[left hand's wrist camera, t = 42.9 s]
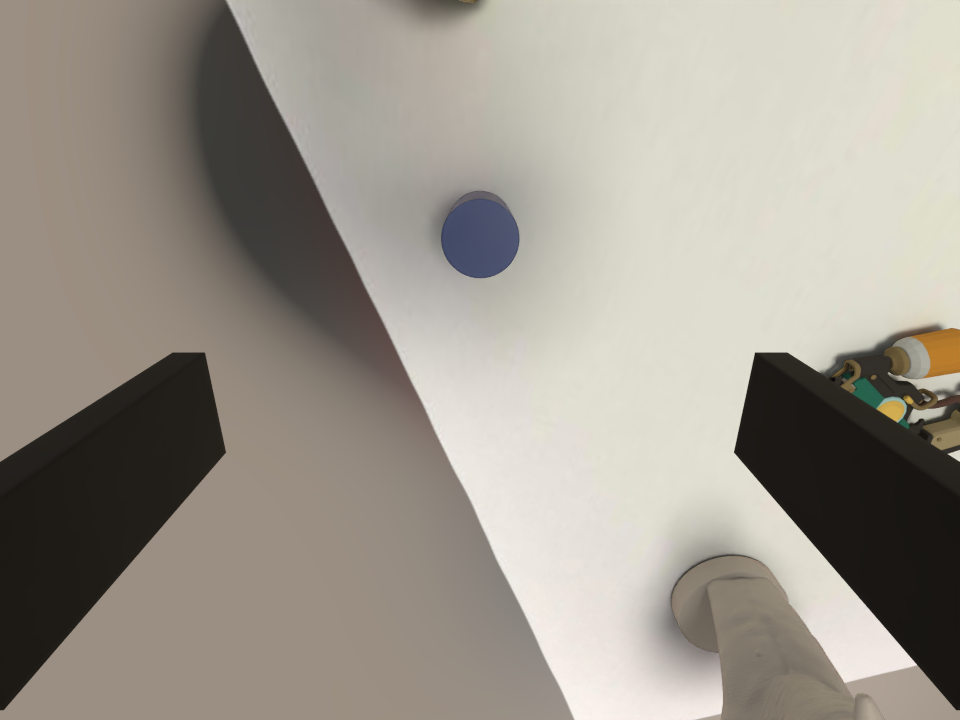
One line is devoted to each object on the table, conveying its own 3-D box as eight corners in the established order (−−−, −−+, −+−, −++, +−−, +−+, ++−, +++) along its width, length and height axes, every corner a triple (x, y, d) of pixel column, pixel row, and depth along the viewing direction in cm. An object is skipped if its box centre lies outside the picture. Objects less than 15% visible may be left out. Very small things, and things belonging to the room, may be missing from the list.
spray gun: (988, 418, 54) (846, 481, 58) (954, 293, 48) (798, 372, 52) (1026, 442, 51) (872, 507, 54) (995, 309, 44) (823, 392, 48)
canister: (435, 224, 47) (424, 240, 38) (479, 176, 45) (479, 181, 36) (480, 269, 48) (480, 293, 39) (525, 224, 46) (535, 239, 38)
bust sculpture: (813, 474, 56) (1275, 911, 24) (781, 634, 65) (1084, 1115, 32) (666, 482, 56) (919, 924, 24) (653, 641, 65) (826, 1121, 33)
